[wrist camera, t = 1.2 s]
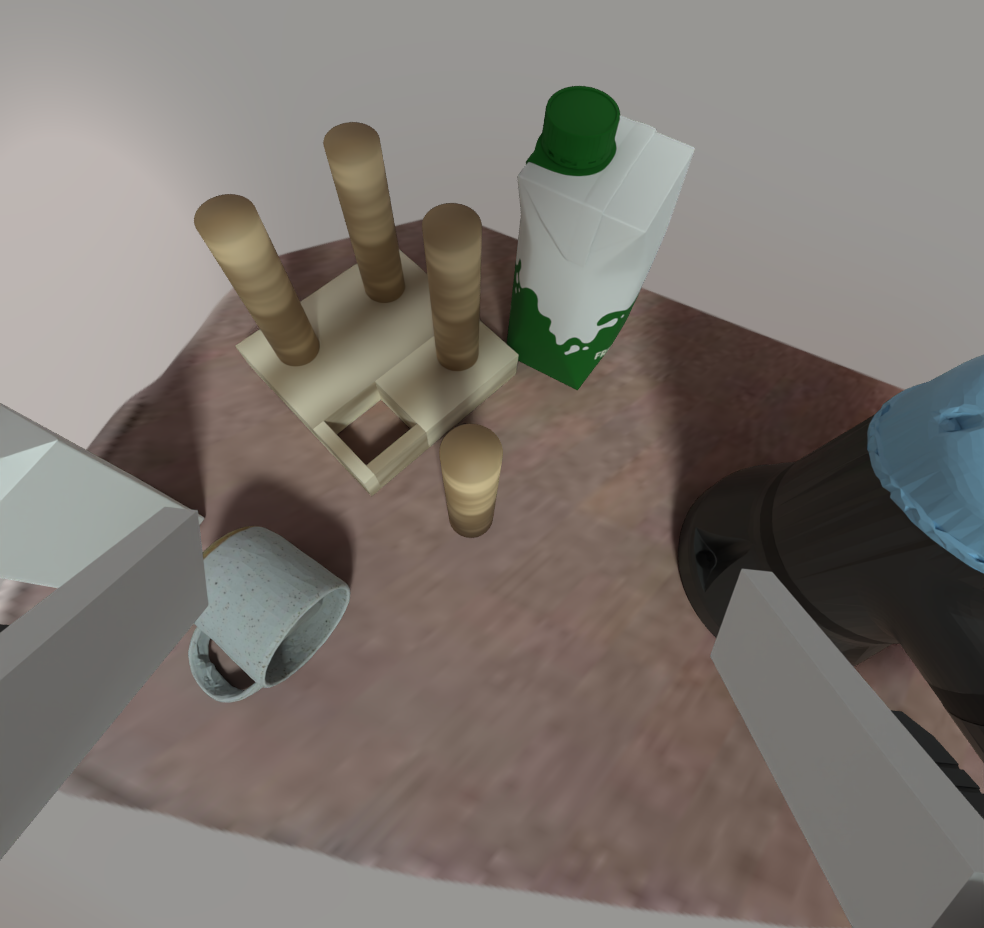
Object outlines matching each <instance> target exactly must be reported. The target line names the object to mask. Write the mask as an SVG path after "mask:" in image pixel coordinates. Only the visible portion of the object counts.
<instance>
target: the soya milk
mask: <svg viewBox="0 0 984 928" xmlns="http://www.w3.org/2000/svg"><path fill="white" fill-rule="evenodd" d="M694 151H695V148H694V147H692V146H690V145H687V144H685V143H682V142H680V141H677V140H675V139H672V138H670V137H667V136H665V135H663V134H660V133H658V132H656V129H655V128H654V127H652V126H649V125H647V124H645V123H642V122H636V121H634V120H631V119H629V118H626V117H624V116H621V115H620V111H619V107H618V105H617V103H616V102H615V101H614V100H613V99H612V98H611V97H610V96H609V95H608V94H606V93H604V92H603V91H600V90H598V89H595V88H592V87H586V86H572V87H567V88H564V89H561V90H559V91H558V92H556V93H555V94H553V95H552V96H551V98H550V99H549V101H548V103H547V106H546V111H545V118H544V125H543V131H542V134H541V135H540V137H539V138H538V141H537V143H536V147H535V150H534V152H533V153H532V154H531V156H530V157H529V158H528V160H527V161H526V166H525V167H524V168H523V169H522V171H521V172H520V174H519V175H518V177H517V178H518V188H519V197H520V207H521V220H520V228H519V237H518V246H517V255H516V264H515V273H514V282H513V291H512V300H511V309H510V318H509V327H508V336H507V345H508V346H509V347H510V348H512V349H513V350H514V351H515V352H516V353H517V354H518V355H519V356H518V361H520V362H522V363H524V364H526V365H528V366H530V367H532V368H534V369H536V370H538V371H540V372H542V373H544V374H546V375H548V376H550V377H552V378H554V379H556V380H558V381H560V382H562V383H564V384H566V385H568V386H570V387H572V388H574V389H576V390H578V389H579V388H580V386H581V385H582V384H583V382H584V381H585V380H586V378H587V377H588V376H589V374H590V373H591V372H592V371H593V369H594V368H595V367H596V365H597V364H598V363H599V361H600V360H601V359H602V357H603V356H604V355H605V353H606V352H607V351H608V349H609V348H610V347H611V345H612V344H613V342H614V340H615V339H616V337H617V335H618V334H619V332H620V330H621V329H622V327H623V325H624V324H625V322H626V320H627V318H628V316H629V314H630V311H631V309H632V307H633V305H634V303H635V301H636V298H637V296H638V294H639V292H640V290H641V287H642V285H643V283H644V281H645V278H646V276H647V274H648V272H649V270H650V268H651V266H652V263H653V261H654V259H655V256H656V254H657V252H658V249H659V247H660V245H661V242H662V240H663V238H664V235H665V233H666V230H667V228H668V225H669V222H670V219H671V216H672V213H673V211H674V208H675V204H676V202H677V199H678V196H679V193H680V190H681V187H682V184H683V181H684V179H685V176H686V173H687V170H688V167H689V164H690V162H691V158H692V156H693V153H694Z"/></svg>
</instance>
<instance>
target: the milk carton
mask: <svg viewBox="0 0 984 928" xmlns="http://www.w3.org/2000/svg"><path fill="white" fill-rule="evenodd" d="M164 507H172V508H181V509H190V508H188V507H186V506H184V505H183V504H181V503H179V502H178V501H176V500H174V499H172V498H171V497H169V496H167V495H166V494H164V493H162V492H160V491H159V490H157V489H155V488H154V487H152V486H150V485H148V484H147V483H145V482H143V481H141V480H140V479H138V478H136V477H134V476H133V475H131V474H129V473H127V472H125V471H123V470H122V469H120V468H118V467H116V466H114V465H113V464H111V463H109V462H107V461H105V460H103V459H102V458H100V457H98V456H96V455H94V454H92V453H91V452H89V451H87V450H85V449H83V448H82V447H79V446H78V445H76V444H74V443H72V442H71V441H69V440H67V439H65V438H63V437H62V436H60V435H58V434H56V433H54V432H52V431H51V430H49V429H47V428H45V427H43V426H41V425H40V424H38V423H36V422H34V421H32V420H31V419H29V418H27V417H25V416H23V415H21V414H20V413H18V412H16V411H14V410H12V409H10V408H9V407H7V406H5V405H3V404H1V403H0V578H4V579H10V580H15V581H21V582H27V583H32V584H38V585H44V586H49V587H55V588H59V587H61V586H62V585H63V584H64V583H66V582H67V581H68V580H70V579H71V578H72V577H74V576H75V575H76V574H77V573H79V572H80V571H81V570H83V569H84V568H85V567H87V566H88V565H89V564H91V563H92V562H93V561H94V560H96V559H97V558H98V557H100V556H101V555H102V554H104V553H105V552H106V551H107V550H109V549H110V548H111V547H113V546H114V545H115V544H117V543H118V542H119V541H121V540H122V539H123V538H124V537H126V536H127V535H128V534H130V533H131V532H132V531H134V530H135V529H136V528H137V527H139V526H140V525H141V524H143V523H144V522H145V521H147V520H148V519H149V518H151V517H152V516H153V515H154V514H156V513H157V512H158V511H160V510H161V509H162V508H164ZM198 518H199V525H200V524H201V522H202V521H203V520H204V517H203V516H201V515H200V514H198Z"/></svg>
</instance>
